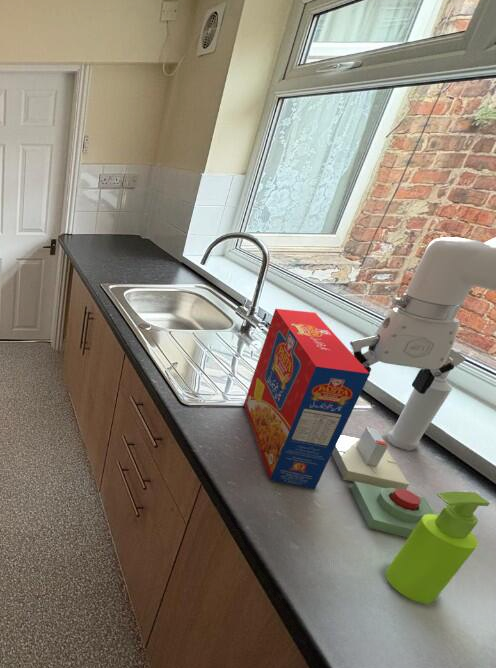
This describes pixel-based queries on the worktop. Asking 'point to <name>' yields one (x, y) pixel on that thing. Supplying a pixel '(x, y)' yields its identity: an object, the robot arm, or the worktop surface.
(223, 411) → the worktop surface
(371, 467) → the block
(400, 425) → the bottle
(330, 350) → the pasta box
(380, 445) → the tap handle
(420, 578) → the soap dispenser
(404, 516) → the button box
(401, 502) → the button
